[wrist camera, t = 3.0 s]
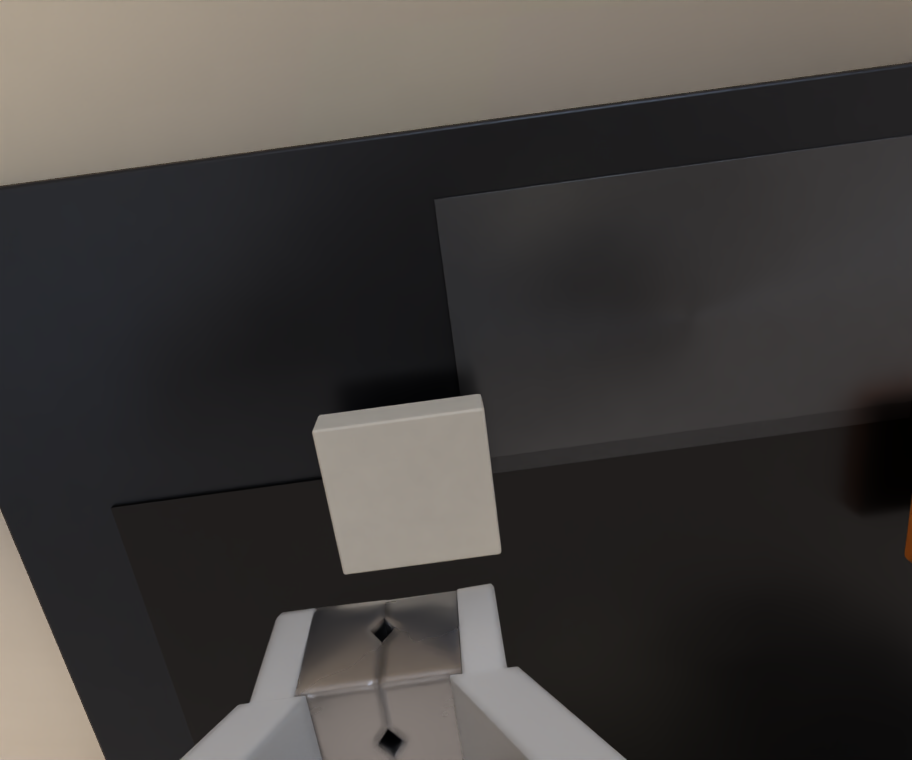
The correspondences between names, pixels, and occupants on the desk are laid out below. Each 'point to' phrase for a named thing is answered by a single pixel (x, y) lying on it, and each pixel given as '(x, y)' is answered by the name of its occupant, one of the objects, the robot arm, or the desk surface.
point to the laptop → (492, 408)
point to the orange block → (909, 537)
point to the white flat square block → (409, 483)
